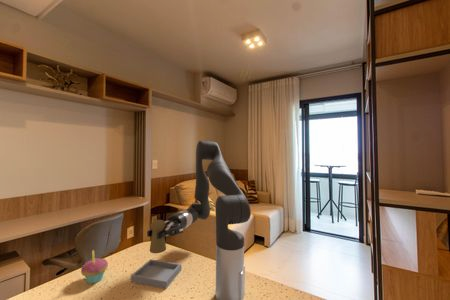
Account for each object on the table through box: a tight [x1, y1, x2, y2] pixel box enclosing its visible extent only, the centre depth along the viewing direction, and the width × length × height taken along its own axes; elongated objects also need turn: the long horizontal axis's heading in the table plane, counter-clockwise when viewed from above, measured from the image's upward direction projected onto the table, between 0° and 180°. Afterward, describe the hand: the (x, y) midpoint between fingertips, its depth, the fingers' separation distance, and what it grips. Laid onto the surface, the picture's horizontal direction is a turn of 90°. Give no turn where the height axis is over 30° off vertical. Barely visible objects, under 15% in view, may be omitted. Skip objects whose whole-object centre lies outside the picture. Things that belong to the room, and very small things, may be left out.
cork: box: [149, 219, 167, 254], centre depth 82 cm, size 6×6×11 cm
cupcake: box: [80, 250, 109, 284], centre depth 79 cm, size 9×8×12 cm
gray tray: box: [130, 258, 182, 290], centre depth 81 cm, size 14×12×2 cm
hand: (152, 235), depth 79 cm, fingers closed on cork, 4 cm apart
